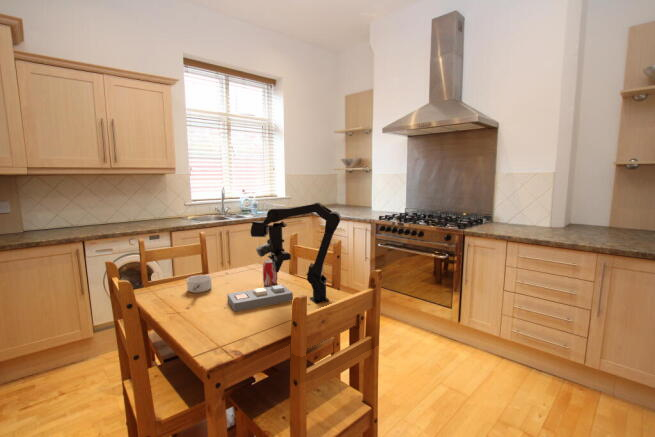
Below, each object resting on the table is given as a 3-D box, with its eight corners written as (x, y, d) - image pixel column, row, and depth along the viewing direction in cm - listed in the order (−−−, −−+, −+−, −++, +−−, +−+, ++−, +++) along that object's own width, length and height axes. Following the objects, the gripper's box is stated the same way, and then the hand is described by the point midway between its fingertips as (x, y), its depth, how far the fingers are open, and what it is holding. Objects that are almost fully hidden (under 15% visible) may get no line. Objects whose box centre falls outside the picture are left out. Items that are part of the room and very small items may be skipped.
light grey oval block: (180, 302, 138) (179, 289, 138) (188, 286, 158) (188, 275, 157) (209, 299, 141) (208, 287, 140) (213, 285, 160) (213, 274, 160)
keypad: (292, 300, 140) (292, 292, 140) (234, 311, 128) (234, 303, 128) (282, 291, 151) (282, 284, 150) (227, 301, 139) (227, 293, 138)
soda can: (269, 287, 156) (269, 263, 155) (260, 284, 161) (259, 261, 159) (280, 283, 162) (280, 260, 160) (270, 281, 166) (270, 258, 165)
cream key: (266, 296, 138) (266, 290, 138) (256, 297, 136) (256, 292, 136) (263, 292, 142) (263, 287, 142) (253, 294, 140) (253, 289, 140)
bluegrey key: (284, 292, 142) (284, 287, 142) (274, 294, 140) (274, 289, 140) (280, 289, 146) (280, 284, 146) (271, 291, 144) (271, 286, 144)
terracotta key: (248, 302, 135) (248, 297, 134) (237, 304, 133) (237, 299, 132) (245, 299, 138) (245, 293, 138) (235, 301, 136) (235, 295, 136)
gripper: (251, 235, 144) (252, 269, 146) (264, 242, 128) (266, 281, 130) (274, 233, 149) (276, 266, 151) (290, 239, 133) (291, 276, 135)
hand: (276, 272), depth 142 cm, fingers closed
